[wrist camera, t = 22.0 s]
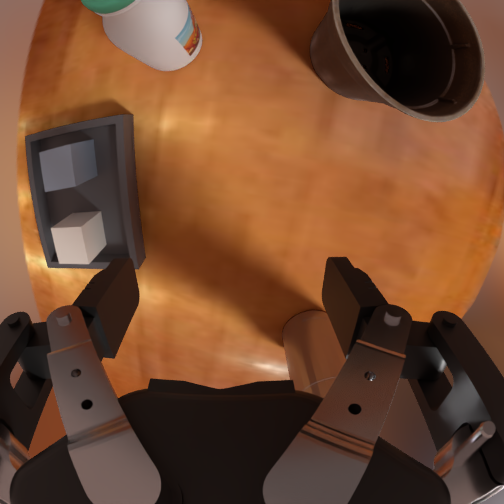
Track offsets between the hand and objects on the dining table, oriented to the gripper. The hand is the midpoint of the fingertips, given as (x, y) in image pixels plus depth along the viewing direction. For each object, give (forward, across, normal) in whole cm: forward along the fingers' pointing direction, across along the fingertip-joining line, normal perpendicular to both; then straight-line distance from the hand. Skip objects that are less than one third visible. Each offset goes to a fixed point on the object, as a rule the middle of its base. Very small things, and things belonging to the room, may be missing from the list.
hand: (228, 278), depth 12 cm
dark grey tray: (+26, +21, +2) cm, 33 cm away
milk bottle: (+26, +8, -17) cm, 32 cm away
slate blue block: (+25, +21, -3) cm, 33 cm away
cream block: (+25, +21, +7) cm, 33 cm away
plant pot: (+26, -15, -16) cm, 34 cm away
